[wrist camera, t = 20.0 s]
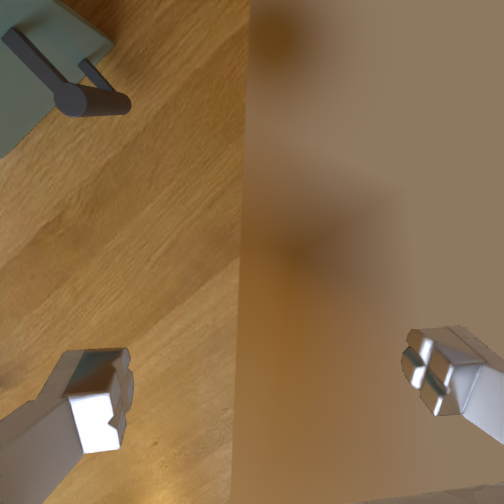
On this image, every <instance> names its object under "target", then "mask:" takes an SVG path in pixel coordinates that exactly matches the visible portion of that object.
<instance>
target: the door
mask: <svg viewBox="0 0 504 504" xmlns="http://www.w3.org/2000/svg"><path fill="white" fill-rule="evenodd" d="M114 46H115V44H114V43H113V42H112V41H111V40H110V38H109V37H108V36H107V35H106V34H104V33H103V32H102V31H100V30H99V29H98V28H96V27H95V26H94V25H93V24H91V23H90V22H89V21H87V20H86V19H85V18H83V17H82V16H81V15H79V14H78V13H77V12H75V11H74V10H73V9H71V8H70V7H69V6H67V5H66V4H65V3H63V2H62V1H61V0H0V159H1V158H4V157H5V156H6V155H7V154H8V153H9V152H10V151H11V150H12V149H13V148H14V147H15V146H16V145H17V144H18V143H19V142H20V141H21V140H22V139H23V138H24V137H25V136H26V135H27V134H28V133H29V132H30V131H31V130H32V129H33V128H34V127H35V126H36V125H37V124H38V122H39V121H40V120H41V119H42V118H43V117H44V116H45V115H46V114H47V113H48V112H49V111H50V110H51V109H52V108H53V107H54V106H55V105H56V106H57V108H58V109H59V110H60V111H61V112H62V113H63V114H65V115H67V116H69V117H90V116H108V115H124V114H127V113H128V112H129V111H130V109H131V101H130V99H129V98H128V96H127V95H125V94H123V93H119V92H117V91H116V90H115V89H114V88H113V87H112V86H111V85H110V84H109V82H108V81H107V80H106V79H105V78H104V77H103V76H102V75H101V74H100V72H99V71H98V70H97V69H96V68H95V67H94V66H95V65H96V64H97V63H98V62H99V61H100V60H101V59H102V58H103V57H104V56H105V55H106V54H107V53H108V52H109V51H110V50H111V49H112V48H113V47H114ZM85 75H86V76H87V77H88V78H89V79H90V80H91V81H92V83H93V84H94V85H95V86H96V87H97V88H95V87H90V86H85V85H80V84H77V83H78V82H79V81H80V80H81V79H82V78H83V77H84V76H85Z"/></svg>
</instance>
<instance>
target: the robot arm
mask: <svg viewBox="0 0 504 504" xmlns="http://www.w3.org/2000/svg"><path fill="white" fill-rule="evenodd" d="M406 341H407V343H408V344H409V347H408V348H407V349H406V350H405V351H404V352H403V355H402V359H401V364H402V371H403V373H404V375H405V378H406V379H407V380H408V382H409V383H410V384H411V385H412V386H414V387H416V388H417V389H419V390H420V398H421V399H422V401H423V402H424V403H425V405H426V406H427V407H428V409H429V410H430V411H431V412H432V414H433V415H434V416H447V415H461V414H463V416H464V417H465V418H467V419H468V420H469V421H471V422H472V423H474V424H475V425H476V426H478V427H479V428H481V429H482V430H483V431H485V432H486V433H488V434H489V435H491V436H492V437H494V438H495V439H496V440H498V441H499V442H501V443H502V444H503V445H504V360H503V359H502V358H501V357H500V356H498V355H497V354H496V353H495V352H494V351H492V350H491V349H490V348H489V347H488V346H486V345H485V344H484V343H482V341H480V340H479V339H478V338H477V337H476V336H474V335H473V334H472V333H471V332H469V331H468V330H467V329H466V328H465V327H462V326H460V325H457V326H444V327H437V328H424V329H411V331H410V332H409V333H408V336H407V339H406ZM129 362H130V355H129V350H128V349H127V348H126V347H124V348H100V349H87V350H86V349H82V350H67V351H66V352H64V353H63V354H62V356H61V357H60V359H59V361H58V362H57V364H56V366H55V368H54V369H53V371H52V373H51V374H50V376H49V378H48V379H47V381H46V383H45V384H44V386H43V388H42V389H41V391H40V393H39V395H38V396H37V398H36V400H32V401H27V402H26V403H25V404H23V405H22V406H20V407H19V408H18V409H16V410H15V411H13V412H12V413H10V414H9V415H8V416H6V417H5V418H3V419H2V420H0V504H42V503H43V502H44V501H45V500H46V498H47V497H48V496H49V495H50V494H51V493H52V491H53V490H54V489H55V488H56V487H57V486H58V484H59V483H60V482H61V481H62V480H63V479H64V478H65V476H66V475H67V474H68V473H69V472H70V471H71V469H72V468H73V467H74V466H75V465H76V464H77V462H78V461H79V460H80V459H81V458H82V457H83V454H84V453H92V452H99V451H107V450H114V449H120V448H121V444H122V440H123V436H124V432H125V429H126V425H127V424H126V418H125V414H126V413H127V412H128V411H129V410H130V409H131V404H132V400H133V391H134V379H133V372H132V371H131V370H129V369H128V366H129ZM349 504H504V482H503V483H496V484H489V485H481V486H474V487H466V488H459V489H453V490H444V491H438V492H430V493H423V494H415V495H408V496H401V497H393V498H386V499H379V500H371V501H364V502H357V503H349Z"/></svg>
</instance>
